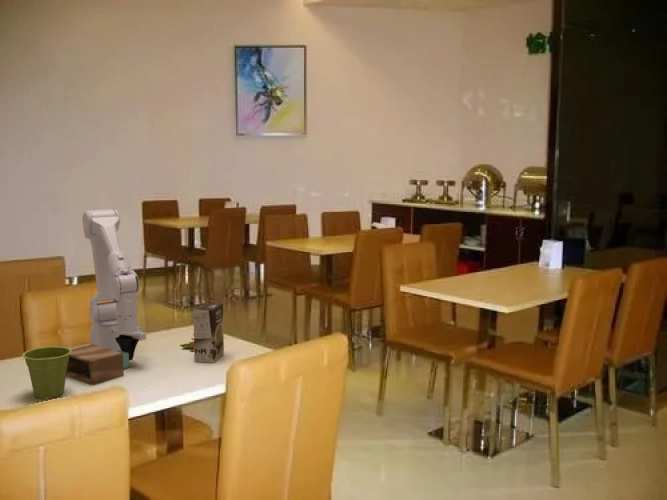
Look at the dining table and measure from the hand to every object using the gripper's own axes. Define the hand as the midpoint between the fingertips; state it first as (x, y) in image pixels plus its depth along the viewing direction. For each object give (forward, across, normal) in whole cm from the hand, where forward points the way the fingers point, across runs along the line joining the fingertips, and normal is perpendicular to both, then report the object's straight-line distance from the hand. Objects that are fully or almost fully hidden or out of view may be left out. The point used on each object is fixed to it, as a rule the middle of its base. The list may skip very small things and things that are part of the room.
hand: (128, 360), depth 217 cm
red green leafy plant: (+2, -2, -25) cm, 25 cm away
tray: (+1, 0, +7) cm, 7 cm away
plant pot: (+2, -4, +28) cm, 28 cm away
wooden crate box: (+1, 0, +12) cm, 12 cm away
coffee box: (+2, -14, -19) cm, 24 cm away
